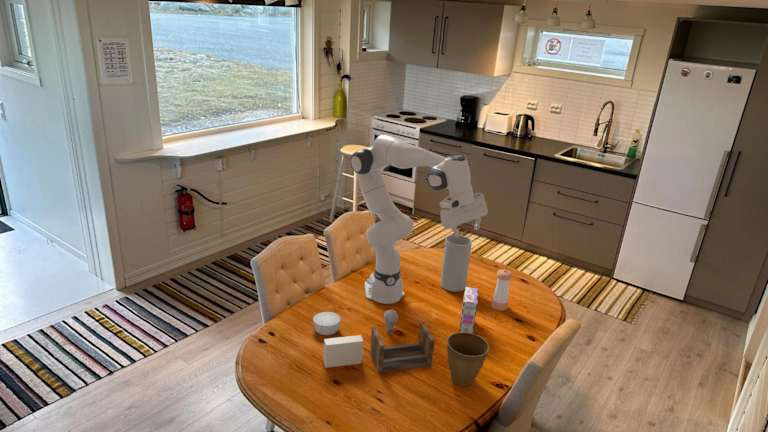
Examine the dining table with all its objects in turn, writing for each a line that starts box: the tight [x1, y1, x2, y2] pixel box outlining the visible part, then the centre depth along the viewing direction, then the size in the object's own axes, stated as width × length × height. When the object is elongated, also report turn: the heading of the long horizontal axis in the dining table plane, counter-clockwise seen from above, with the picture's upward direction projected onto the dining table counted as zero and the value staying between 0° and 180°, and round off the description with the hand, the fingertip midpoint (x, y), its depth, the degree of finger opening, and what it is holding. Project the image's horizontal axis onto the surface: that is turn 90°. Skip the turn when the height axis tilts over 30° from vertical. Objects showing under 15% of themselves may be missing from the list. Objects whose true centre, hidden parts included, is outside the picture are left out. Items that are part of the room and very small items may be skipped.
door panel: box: [323, 334, 364, 369], centre depth 200 cm, size 4×14×10 cm, turn 106°
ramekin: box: [312, 311, 342, 336], centre depth 221 cm, size 11×11×5 cm
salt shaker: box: [491, 268, 513, 311], centre depth 245 cm, size 7×7×19 cm
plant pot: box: [446, 332, 490, 387], centre depth 194 cm, size 15×15×16 cm
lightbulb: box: [383, 309, 399, 335], centre depth 220 cm, size 6×6×11 cm
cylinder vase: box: [440, 234, 473, 293], centre depth 260 cm, size 12×12×25 cm
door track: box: [369, 321, 436, 374], centre depth 203 cm, size 12×21×12 cm, turn 106°
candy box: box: [458, 286, 479, 334], centre depth 227 cm, size 14×6×16 cm, turn 168°
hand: (467, 232), depth 205 cm, fingers open, 8 cm apart
